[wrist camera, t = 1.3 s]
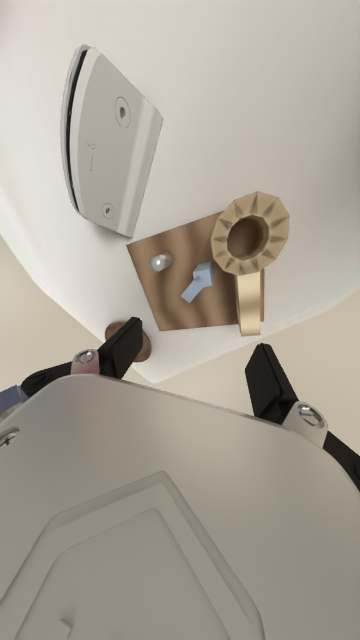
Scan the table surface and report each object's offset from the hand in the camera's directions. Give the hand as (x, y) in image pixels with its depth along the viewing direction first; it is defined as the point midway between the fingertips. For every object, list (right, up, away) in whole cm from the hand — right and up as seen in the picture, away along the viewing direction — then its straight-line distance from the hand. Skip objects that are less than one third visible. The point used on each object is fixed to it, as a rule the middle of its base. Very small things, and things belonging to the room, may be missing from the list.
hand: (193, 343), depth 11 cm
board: (+3, +10, +18) cm, 21 cm away
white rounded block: (-10, +26, +12) cm, 31 cm away
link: (+10, +11, +14) cm, 21 cm away
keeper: (+3, +11, +17) cm, 21 cm away
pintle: (-3, +14, +17) cm, 22 cm away
